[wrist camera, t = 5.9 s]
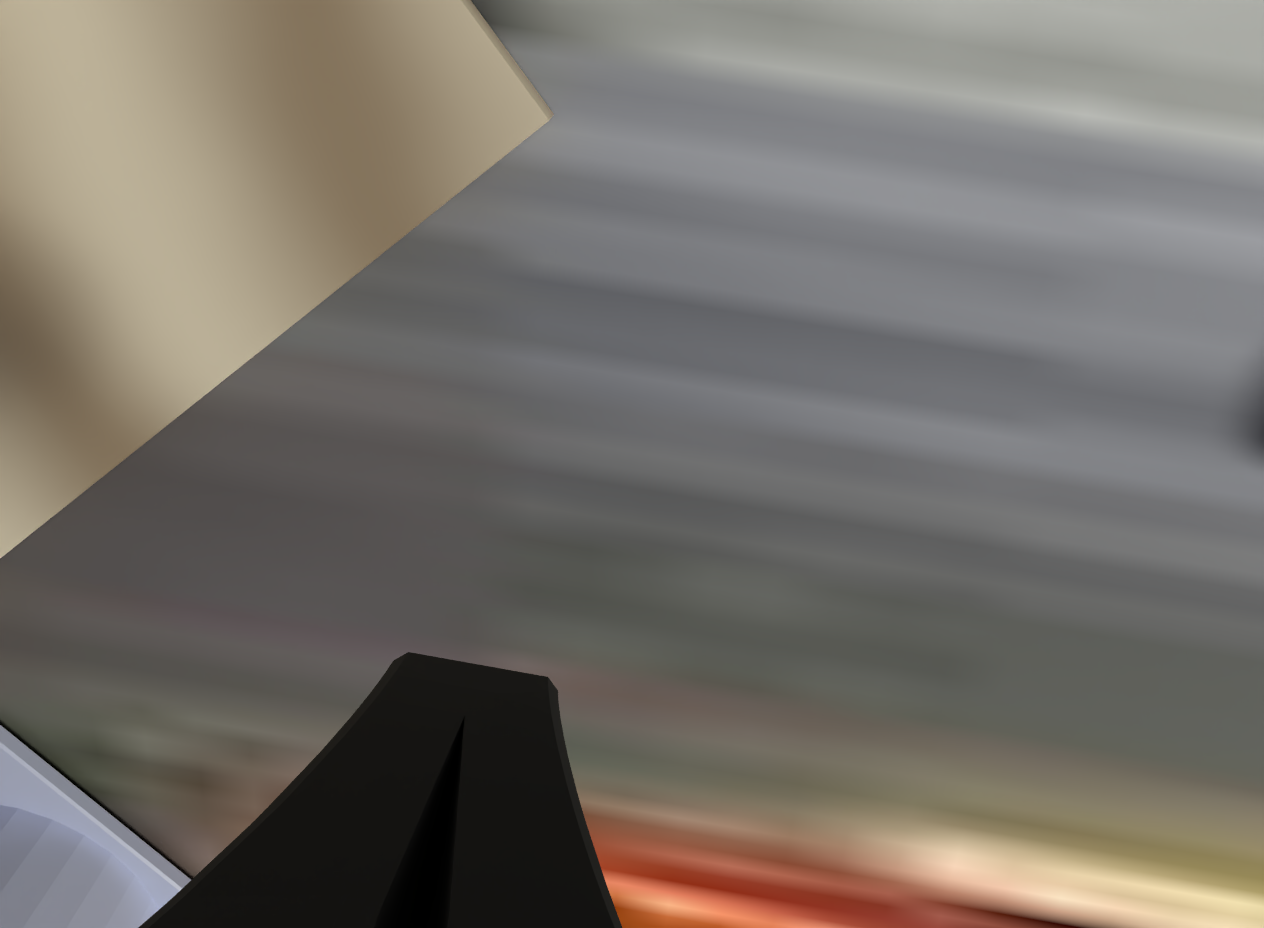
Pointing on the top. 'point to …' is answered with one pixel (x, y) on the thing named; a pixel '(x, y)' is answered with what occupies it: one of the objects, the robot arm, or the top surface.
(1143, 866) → the top surface
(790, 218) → the top surface
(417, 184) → the board
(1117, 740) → the top surface
